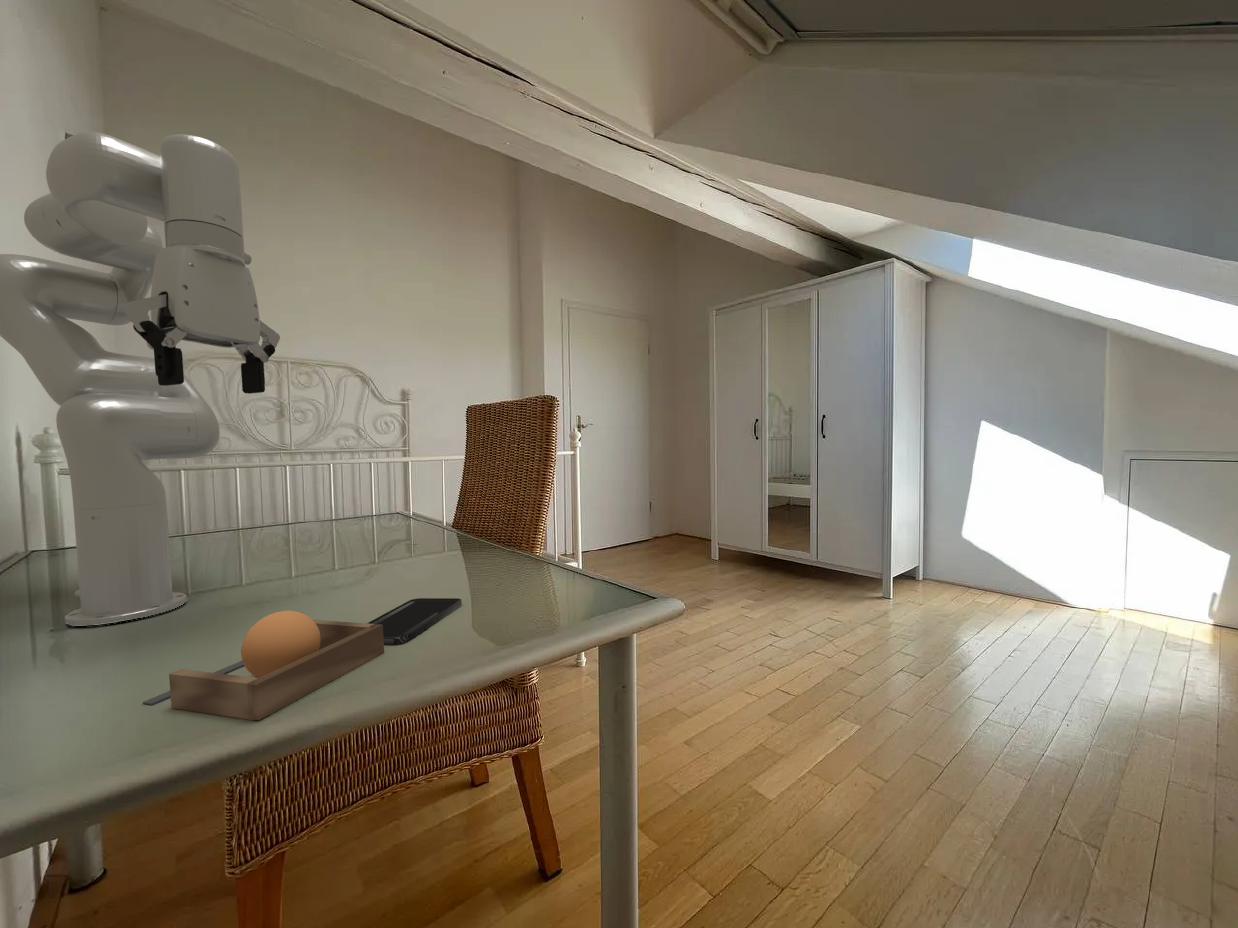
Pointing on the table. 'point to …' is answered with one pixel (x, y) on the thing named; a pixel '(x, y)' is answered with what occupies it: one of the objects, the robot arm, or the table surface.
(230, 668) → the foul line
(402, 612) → the phone
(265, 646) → the brown egg
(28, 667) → the table surface
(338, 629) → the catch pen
